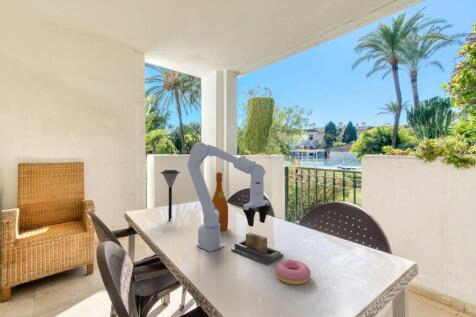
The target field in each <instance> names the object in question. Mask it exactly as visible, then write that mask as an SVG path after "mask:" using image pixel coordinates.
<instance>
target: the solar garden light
mask: <svg viewBox="0 0 476 317" xmlns="http://www.w3.org/2000/svg"><path fill="white" fill-rule="evenodd" d="M160 174H162V175H163V178H164V180H165V182H166V184H167V186H168V221H171V220H170V219H172V218H173V214H172V213H173V211H172V210H173V185H174V184H175V181H176V179H177V177H178V175H179V174H181V172H180V171H178V170H176V169H165V170H163V171H161V172H160Z"/></svg>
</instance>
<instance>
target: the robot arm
mask: <svg viewBox="0 0 476 317" xmlns="http://www.w3.org/2000/svg"><path fill="white" fill-rule="evenodd" d="M207 157H217V158H220V159H221V160H224V161H227V162H229V163H231V164H232V166H233V167H234V169H236V170H238V171H240V172H243V173H244V174H247V175H249V174H250V188H249V202H247V203H245V204H243V209H242V211H243V213H244V215H245V217H246V221H247V225H248V227H252V228H253V227H254V223H255V216H256V212H257V211H258V217H259V222H260V223H262V224H264V223H266V222H265V221H266V218H267V214H268V212H269V211H270V209H271V207H270V200H266V199H265V198H264V196H265V195H264V190H265V189H264V188H265V185H264V184H265V182H264V179H265V178H264V177H265V175H266V171H265V168H264V166H263V165H261V164H258V163H257V162H256V161H255V160H253V161H252V160H251V159H249V158H247V156H246V155H238V156H235V155H232V154H230V153H228V152H227V151H225V150H223V149H221V148H219V147H218V146H214V145H211V144H205V143H204V142H201V141H199V142H196V143H194V145H193V146H192V148H191V149H190V151H189V157H188V161H187V164H186V165H187V169H188V172H189V174H190V178H191V180H192V183H193V186H194V189H195V192H196V194H197V195H196V196H197V198H198V199H199V200H198V201H199V203H200V205H201V211H202V215H203V219H202V220H203V221H202V222H203V223H202V224H200V226H199V227H198V231H197V243H196V246H197V247H199V248H201V249H204V250H206V251H208V252H212V251H215V250H218V249H221V248H224V247H225V245H224V244H222V243H221V231H220V223H219V215H220V214H219V211H218V210H217V209H216V208H215V206H214V204H213V202H212V197H211V194H210V192H209V189H208V186H207V183H206V181H205V178H204V175H203V172H202V169H201V165H202V163H203V161H204V160H205V159H206V158H207ZM255 208H257V210H254V209H255Z"/></svg>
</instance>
